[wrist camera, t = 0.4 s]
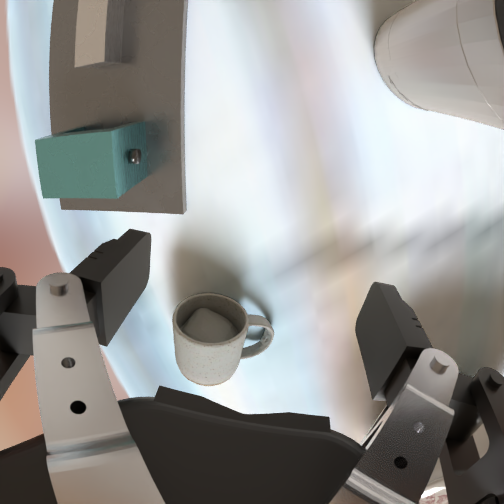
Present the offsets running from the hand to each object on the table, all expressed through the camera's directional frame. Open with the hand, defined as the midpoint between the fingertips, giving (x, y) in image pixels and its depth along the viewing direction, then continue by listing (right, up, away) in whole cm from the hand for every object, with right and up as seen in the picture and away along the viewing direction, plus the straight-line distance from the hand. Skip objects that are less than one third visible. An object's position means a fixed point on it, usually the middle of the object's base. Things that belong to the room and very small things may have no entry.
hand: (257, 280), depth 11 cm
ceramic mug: (-3, -6, +24) cm, 25 cm away
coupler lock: (-13, +10, +15) cm, 22 cm away
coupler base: (-13, +17, +13) cm, 25 cm away
